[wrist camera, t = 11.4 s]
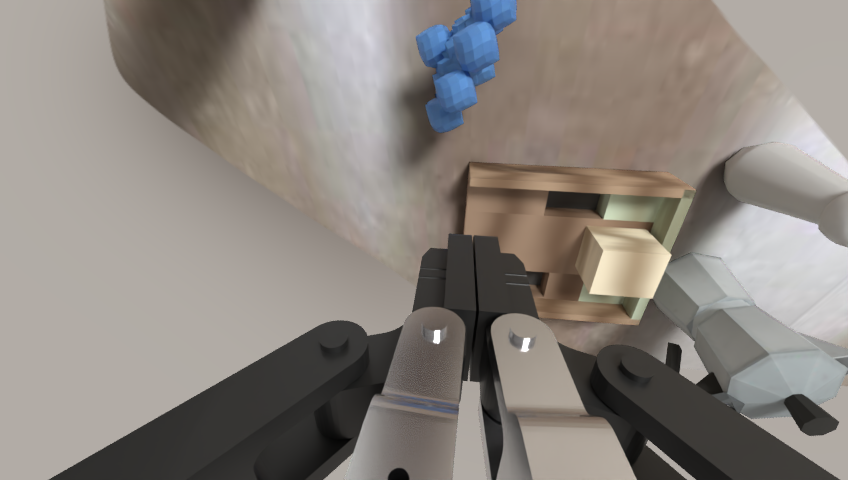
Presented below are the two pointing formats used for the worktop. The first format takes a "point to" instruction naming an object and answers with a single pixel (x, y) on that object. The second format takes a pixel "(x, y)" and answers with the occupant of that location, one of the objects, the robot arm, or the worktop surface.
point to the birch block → (621, 262)
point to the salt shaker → (790, 186)
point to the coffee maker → (749, 347)
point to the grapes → (463, 58)
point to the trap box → (571, 226)
